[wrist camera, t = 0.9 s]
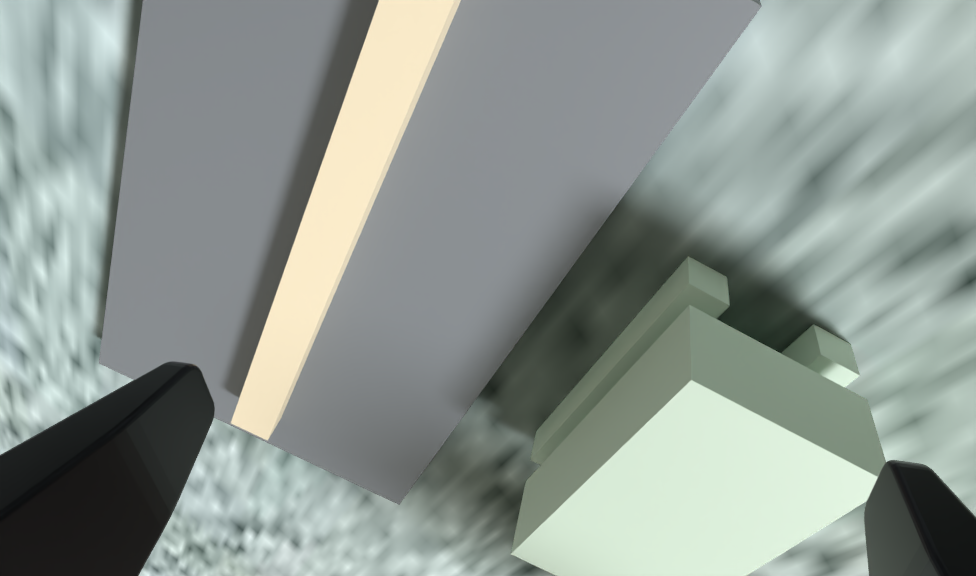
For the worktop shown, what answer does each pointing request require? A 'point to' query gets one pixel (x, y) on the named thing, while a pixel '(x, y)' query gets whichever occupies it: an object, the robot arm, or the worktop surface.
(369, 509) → the worktop surface
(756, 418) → the cabinet block
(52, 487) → the robot arm
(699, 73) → the cleat board
